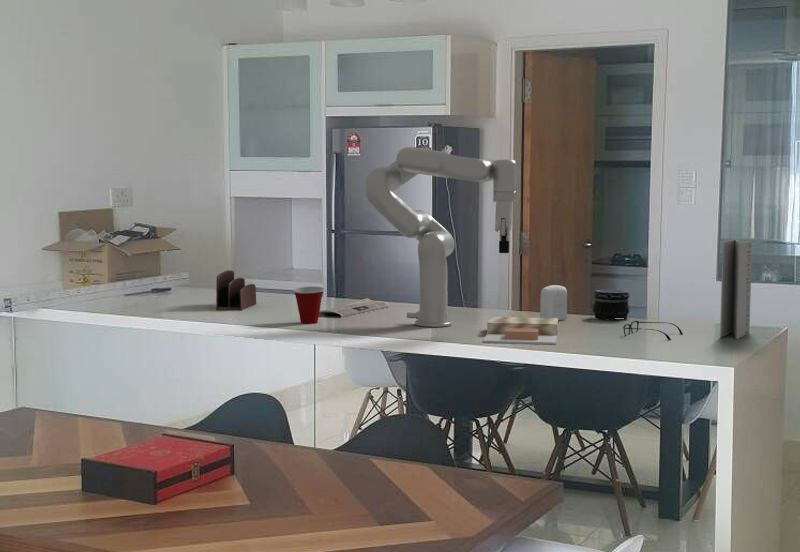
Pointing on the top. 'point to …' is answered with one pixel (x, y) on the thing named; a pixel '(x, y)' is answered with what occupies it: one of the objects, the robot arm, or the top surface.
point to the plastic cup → (309, 303)
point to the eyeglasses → (648, 329)
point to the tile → (522, 333)
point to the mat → (501, 339)
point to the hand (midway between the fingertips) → (504, 252)
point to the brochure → (736, 288)
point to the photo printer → (553, 302)
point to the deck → (523, 324)
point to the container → (611, 304)
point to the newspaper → (355, 308)
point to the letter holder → (233, 292)
